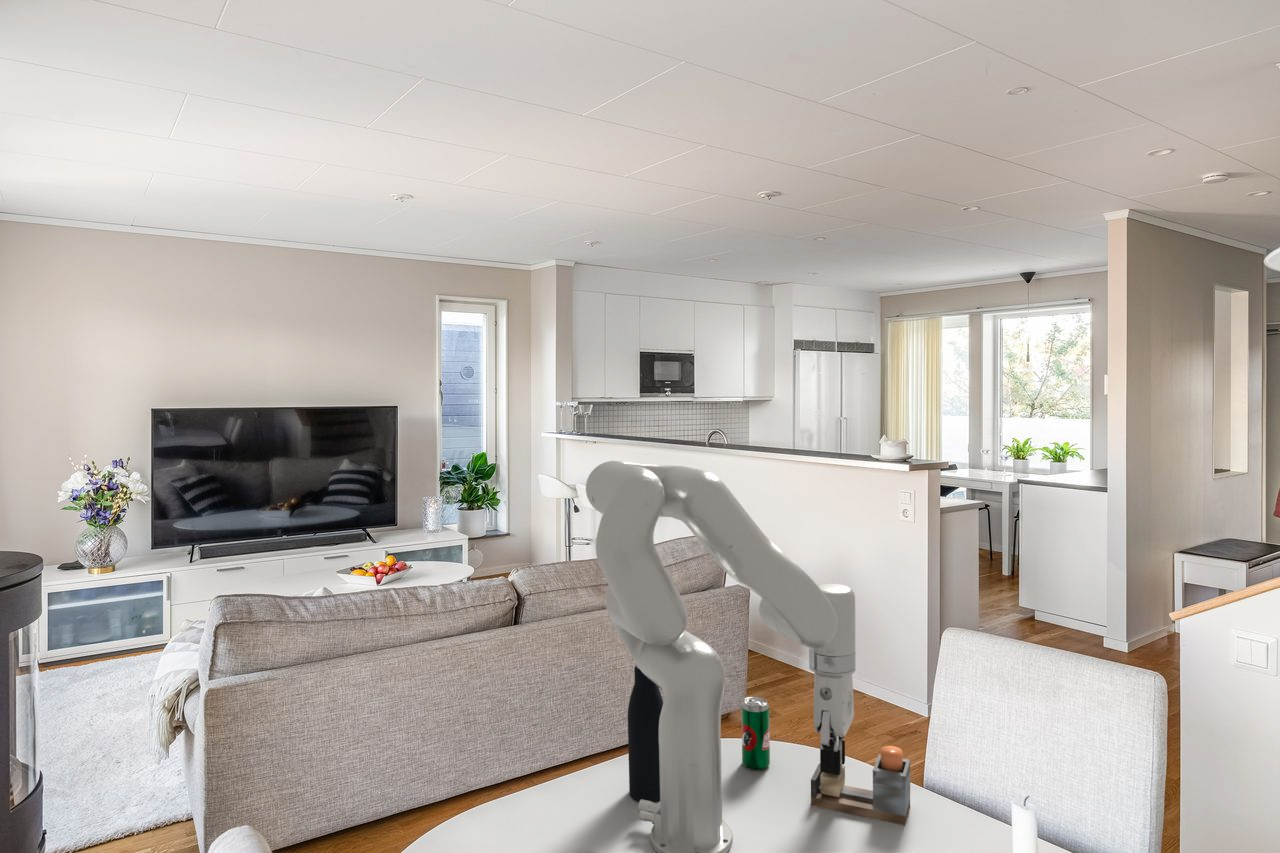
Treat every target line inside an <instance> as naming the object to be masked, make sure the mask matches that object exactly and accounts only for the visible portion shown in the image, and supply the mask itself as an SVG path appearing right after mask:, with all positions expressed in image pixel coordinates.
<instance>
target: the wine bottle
mask: <svg viewBox="0 0 1280 853" xmlns="http://www.w3.org/2000/svg"><path fill="white" fill-rule="evenodd" d="M633 671H634V673H633V674H634V684H633V688H632V691H631V693H630V697H629V702H628V707H627V744H628V747H627V748H628V787H629V789H628V790H629V796H630V798H631V799H632V800H634V801H636V802H638V803H639V802H640V800H641V799H643V800H647V801H651V802H654V803H658V802H660V772H659V718H660V713H661V710H662V706H663V701H664V698H663V695H662V693H661V689H660V688H659V687H658V686H657V685H656V684H655V683H653V682H652V681H651V680H650V679H649V678H648V677H646V676H645V675H644V674H643V673H642V671H641V670H640V669H639V667H638V666H637V664H636V663H635V665H634V670H633Z"/></svg>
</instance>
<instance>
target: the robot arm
mask: <svg viewBox="0 0 1280 853" xmlns="http://www.w3.org/2000/svg"><path fill="white" fill-rule="evenodd" d="M585 493H586V497H587V499H588V502H589V503H590V506H592V507H593V509H594V510H596V511H597V512H599V513H601V514H602V515H601V517H600V521H599V524H598V530H597V533H596V537H595V538H596V539H595V556H596V559H597V563H598V566H599V568H600V570H601V573H602V574H603V576H604V579H605V581H606V582H607V584H608V587H607V589H606V593H605V609H606V611H607V615H608V617H609V619H610V621H611V623H612V625H613V627H614V629H615V631H616V632H617V634H618V635H619V637H620V639H621V641H622V643H623V644H624V646H625V648H626V649H627V651H628V653H629V654H630V657H631V658H632V660H633V661H634V664H635V665H636V664H637V666H638V667H639V669H640V670H641V671H642V673H643V674H644V675H645V676H646V677H648V678H649V679H650V680H651V681H652V682H653V683H655V684H656V685H657V686H658V687H659V690H660V691H662V693H663V706H662V710H661V713H660V718H659V772H660V801H658V802H655V803H654V802H651V801H647V800H643V799H641V800H640V802H638V804H637V805H638V807H637V809H638V810H637V811H638V812H639V814H638V820H639V821H642V822H649V823H651V824H652V828H651V831H650V843H651V845H652V847H653V849H654V851H656V852H657V853H728V852H729V851H730V849H731V848H732V846H733V843H734V841H733V837H734V836H733V831H732V828H731V826H730V825H729V824H728V823H727V822H726V821H725V820H724V819H723V804H722V803H723V798H722V797H723V796H722V795H723V794H722V793H723V792H722V789H723V786H722V785H723V784H722V738H721V737H722V727H721V726H722V724H721V723H722V722H721V721H722V707H723V700H724V694H725V693H724V692H725V688H726V680H727V678H726V674H727V673H726V668H725V665H724V663H723V659H722V658H721V656H720V655H719V654H718V652H717V651H716V650H715V649H714V648H713V647H712V646H711V645H710V644H708V643H707V642H705V641H703V640H702V639H700V638H699V637H697V636H695V635H694V634H692V633H690V632H688V631H687V630H686V628H687V626H688V618H689V617H688V611H687V607H686V603H685V601H684V599H683V597H682V596H681V594H680V592H679V590H678V589H677V587H676V585H675V583H674V582H673V580H672V578H671V576H670V575H669V572H668V571H667V569H666V567H665V565H664V564H663V562H662V560H661V558H660V556H659V553H658V551H657V549H656V546H655V542H654V534H655V529H656V526H657V522H658V520H659V518H660V517H663V518H673V519H675V520H679V521H681V522H683V524H684V525H685V526H686V527H687V528H688V529H689V530H690V531H691V533H692V534H693V535H694V537H695V538H697V540H698V541H699V542H700V544H701V545H702V546H703V547H704V549H706V551H707V552H708V553H709V555H710V556H711V557H712V558H713V559H714V561H715V562H716V563H717V564H718V566H719V568H721V570H723V571H724V572H725V573H726V574H728V575H729V576H730V577H731V578H732V579H734V580H735V581H736V582H737V583H739V584H741V585H742V586H744V587H745V588H747V589H748V590H749V591H751V592H753V593H755V595H757V596H759V597H760V598H761V600H760V602H759V606H758V611H759V616H760V619H761V621H762V622H763V624H764V625H766V627H768V628H769V629H770V630H771V631H774V632H776V633H778V634H780V635H782V636H783V637H786V638H789V639H791V640H792V641H794V642H796V643H797V644H800V645H802V646H804V647H806V648H808V668H809V670H810V671H811V672H813V673H814V682H813V726H814V727H813V729H814V732H816V734H819V733H820V737H819V738H820V739H819V740H820V741H819V744H820V745H819V746H820V747H819V754H820V755H819V760H820V761H819V764H820V770H821V772H824V773H830V774H835V775H839V774H840V750H838V741H839V740H841V741H842V765H845V762H846V741H845V736H846V735H847V733H848V731H849V729H850V727H851V725H852V723H853V721H854V717H855V704H854V702H855V701H854V685H853V684H854V683H853V682H854V681H853V674H854V673H855V672H856V664H857V663H856V596H855V592H854V590H853V588H850V587H849V586H848V585H846V584H840V583H830V582H829V583H828V582H827V583H819V584H817V583H816V581H814V580H813V579H812V578H811V576H810V575H808V573H807V572H806V571H804V570H803V569H802V568H801V567H800V566H799V565H798V564H797V563H796V562H795V561H794V560H792V558H790V557H789V556H788V555H787V554H786V553H785V552H784V551H783V550H782V549H781V547H779V546H778V545H776V543H774V542H773V541H772V540H770V539H769V537H768V536H766V535H765V533H764V532H763V531H762V529H761V528H760V527H759V525H758V524H757V523H756V522H755V521H754V520H753V518H752V517H751V515H750V514H749V513H748V512H747V511H746V510H745V508H744V507H743V505H742V504H741V503H740V502H739V500H738V499H737V498H736V496H735V495H734V494H733V493H732V492H731V490H730V489H729V488H728V486H727V485H726V484H725V482H723V480H722V479H721V478H720V477H718V476H717V475H716V474H714V473H713V472H710V471H707V470H703V469H698V468H694V467H688V466H683V465H682V466H681V465H671V464H670V465H667V464H651V463H643V462H631V461H622V460H621V461H620V460H608V461H605V462H602V463H600V464H598V465H597V466H595V468H594V469H593V470H591V472H590V473H589V474H588V477H587V479H586V484H585ZM830 738H834V741H833V739H830Z"/></svg>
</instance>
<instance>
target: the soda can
mask: <svg viewBox="0 0 1280 853" xmlns="http://www.w3.org/2000/svg"><path fill="white" fill-rule="evenodd" d="M770 724H771V723H770V706H769V704H768V700H767V699H766V698H764V697H759V696H748V697H746V698H744V699H743V703H742V705H741V761H742V762H741V764H743V765H744V766H745V768H747V769H748V768H749V770H752V771H762V770H765V769H767V767H769V765H771V747H770V746H771V738H770V736H771V735H770V732H771V731H770V730H771V729H770V728H771V727H770Z"/></svg>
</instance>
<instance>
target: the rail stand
mask: <svg viewBox="0 0 1280 853" xmlns="http://www.w3.org/2000/svg"><path fill="white" fill-rule="evenodd" d="M821 774H822V772H821V770H820V763H818V765H817V766H816V768H815V771H814V772H813V774H812V777H811V778H810V806H811V807H814V808H818V809H819V808H820V809H824V810H828V811H834V812H838V813H843V814H848V815H851V816H857V817H863V818H868V819H872V820H877V821H881V822H886V823H891V824H896V825H901V826H903V827H904V826H905V827H906V825H907V822H908V817H909V814H910V809H911V759H907V758H903V769H902V770H900V771H889V770H885V769H883V768H882V767H881V753H879V754H878V756H877V758H876V761H875V763H874V766H873V769H872V790H870V789H865V788H859V787H854V786H851V785H845V784H844V786H843V789H842V791H841V793H840V796H839V797H836V796H831V795H826V794H821V777H820V776H821Z"/></svg>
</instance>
